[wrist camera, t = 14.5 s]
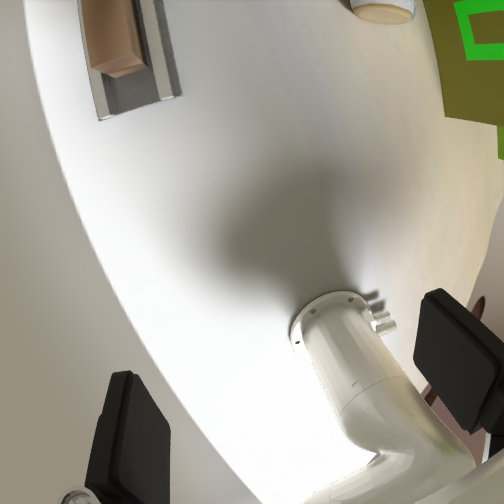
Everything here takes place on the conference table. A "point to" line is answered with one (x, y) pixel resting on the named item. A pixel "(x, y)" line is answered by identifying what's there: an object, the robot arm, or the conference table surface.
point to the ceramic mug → (385, 10)
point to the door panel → (113, 36)
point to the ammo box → (470, 59)
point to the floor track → (142, 81)
